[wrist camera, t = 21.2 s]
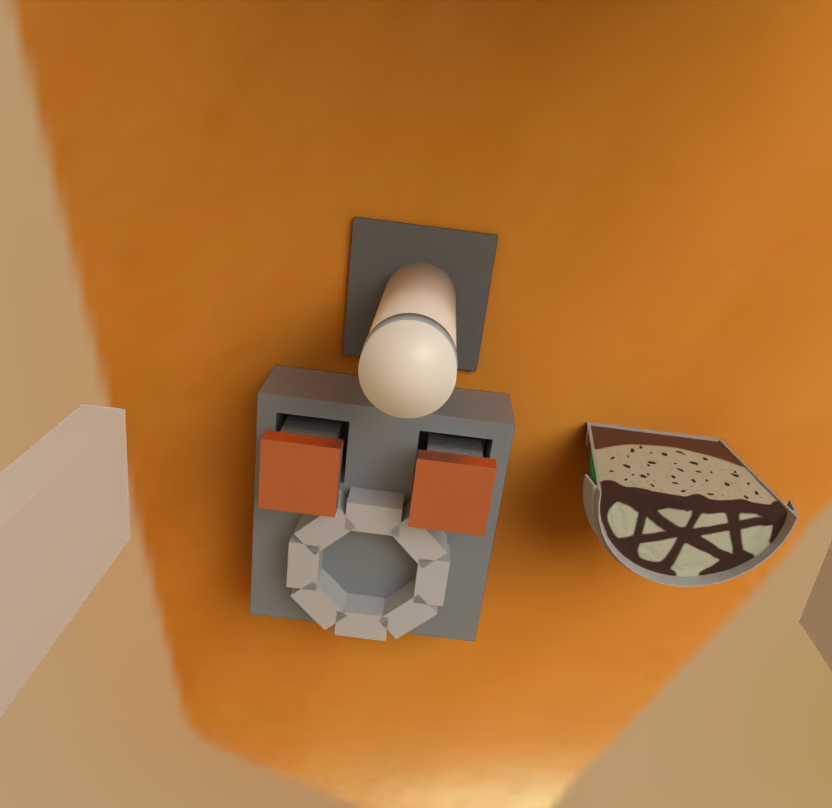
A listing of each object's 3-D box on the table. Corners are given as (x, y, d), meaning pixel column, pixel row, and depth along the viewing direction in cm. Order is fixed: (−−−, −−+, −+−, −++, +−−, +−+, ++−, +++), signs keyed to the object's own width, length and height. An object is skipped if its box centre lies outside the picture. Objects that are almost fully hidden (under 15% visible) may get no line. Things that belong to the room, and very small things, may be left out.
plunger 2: (421, 411, 48) (417, 458, 42) (490, 420, 48) (496, 468, 42) (413, 473, 50) (408, 526, 44) (480, 481, 50) (484, 536, 44)
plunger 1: (285, 394, 48) (260, 438, 42) (354, 403, 48) (340, 448, 42) (282, 457, 50) (258, 508, 44) (349, 465, 50) (334, 517, 44)
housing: (275, 364, 50) (249, 405, 43) (509, 394, 50) (517, 438, 43) (266, 571, 56) (242, 632, 50) (472, 596, 56) (475, 661, 50)
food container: (548, 496, 53) (568, 581, 43) (565, 418, 50) (590, 491, 41) (717, 517, 53) (774, 607, 44) (742, 441, 50) (807, 519, 41)
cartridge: (387, 256, 46) (361, 318, 33) (461, 266, 46) (464, 331, 33) (380, 328, 48) (353, 412, 35) (451, 337, 48) (450, 425, 35)
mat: (354, 216, 46) (353, 217, 45) (497, 234, 46) (497, 235, 45) (343, 352, 49) (342, 354, 49) (476, 369, 49) (476, 371, 49)
